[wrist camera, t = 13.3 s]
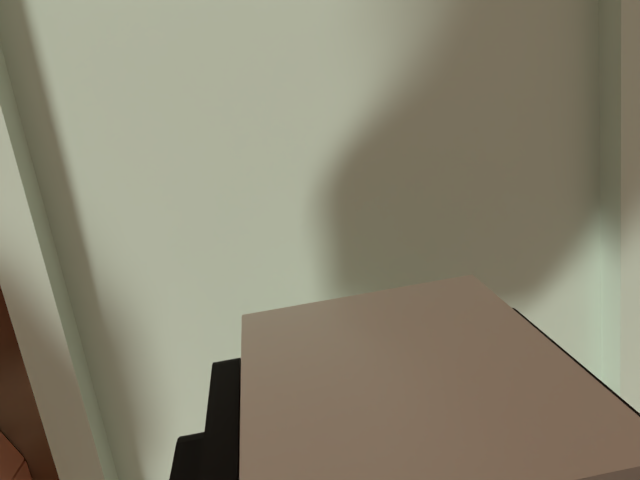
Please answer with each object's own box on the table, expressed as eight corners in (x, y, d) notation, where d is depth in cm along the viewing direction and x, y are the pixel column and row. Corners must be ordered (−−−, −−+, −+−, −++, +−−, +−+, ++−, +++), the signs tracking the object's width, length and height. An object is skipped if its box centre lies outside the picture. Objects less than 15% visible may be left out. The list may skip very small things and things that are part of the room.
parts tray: (-80, -91, 11) (-122, -115, 10) (626, -170, 12) (669, -201, 11) (108, 557, 15) (95, 598, 14) (623, 452, 16) (654, 481, 15)
